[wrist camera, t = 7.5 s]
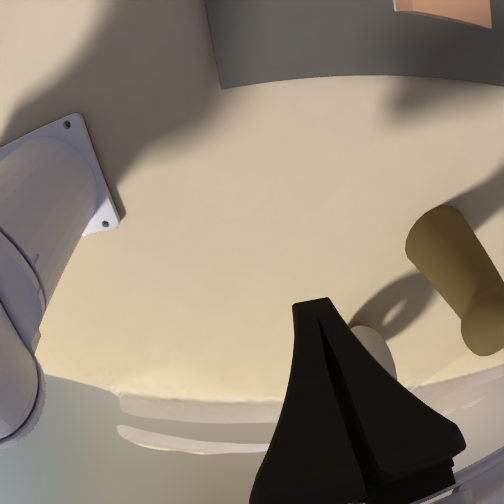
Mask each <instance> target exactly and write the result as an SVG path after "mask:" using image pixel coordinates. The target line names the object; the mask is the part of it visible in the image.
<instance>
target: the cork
mask: <svg viewBox="0 0 504 504" xmlns="http://www.w3.org/2000/svg"><path fill="white" fill-rule="evenodd" d="M405 251H406V254H407V257H408V258H409V259H410V261H411V262H412V263H413V264H414V265H415V266H416V267H417V268H418V269H419V270H420V272H421V273H422V274H423V275H424V276H425V277H426V278H427V279H428V281H429V282H430V283H431V284H432V285H433V286H434V287H435V289H436V290H437V291H438V292H439V293H440V294H441V296H442V297H443V298H444V299H445V300H446V302H447V303H448V304H449V305H450V306H451V308H452V309H453V310H454V311H455V313H456V314H457V315H458V316H459V317H460V319H461V333H462V337H463V340H464V342H465V344H466V345H467V347H468V348H469V349H470V350H471V351H472V352H473V353H474V354H476V355H479V356H488V355H491V354H494V353H496V352H498V351H499V350H501V349H502V348H504V282H503V280H502V278H501V276H500V275H499V273H498V271H497V269H496V268H495V266H494V264H493V263H492V261H491V259H490V257H489V256H488V254H487V253H486V251H485V249H484V248H483V246H482V245H481V243H480V241H479V240H478V238H477V237H476V235H475V234H474V232H473V231H472V229H471V228H470V226H469V225H468V223H467V222H466V220H465V219H464V217H463V216H462V215H461V213H460V212H459V210H457V209H456V208H454V207H452V206H445V205H444V206H440V207H436V208H434V209H432V210H430V211H428V212H427V213H425V214H424V215H423V216H422V217H421V218H420V219H418V220H417V221H416V223H415V224H414V226H413V227H412V229H411V230H410V232H409V234H408V237H407V240H406V247H405Z"/></svg>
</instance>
